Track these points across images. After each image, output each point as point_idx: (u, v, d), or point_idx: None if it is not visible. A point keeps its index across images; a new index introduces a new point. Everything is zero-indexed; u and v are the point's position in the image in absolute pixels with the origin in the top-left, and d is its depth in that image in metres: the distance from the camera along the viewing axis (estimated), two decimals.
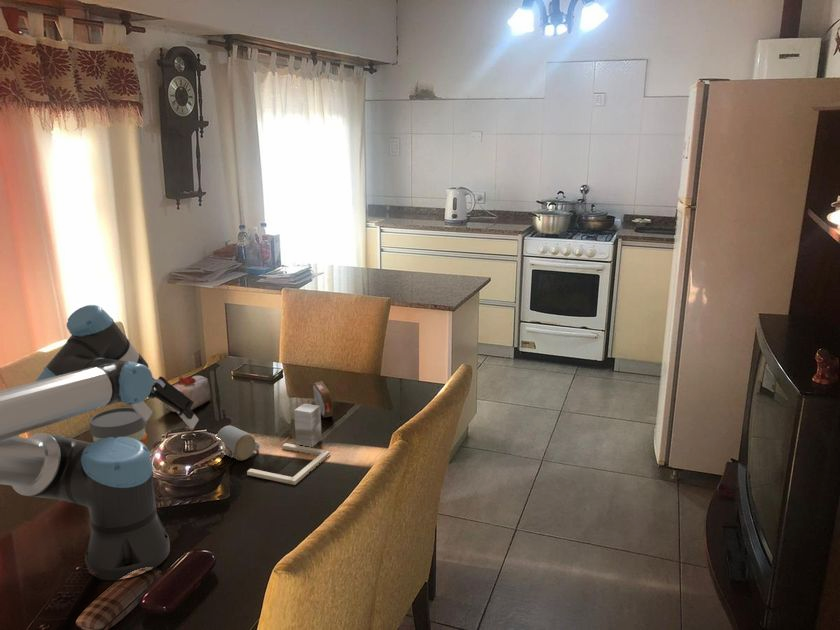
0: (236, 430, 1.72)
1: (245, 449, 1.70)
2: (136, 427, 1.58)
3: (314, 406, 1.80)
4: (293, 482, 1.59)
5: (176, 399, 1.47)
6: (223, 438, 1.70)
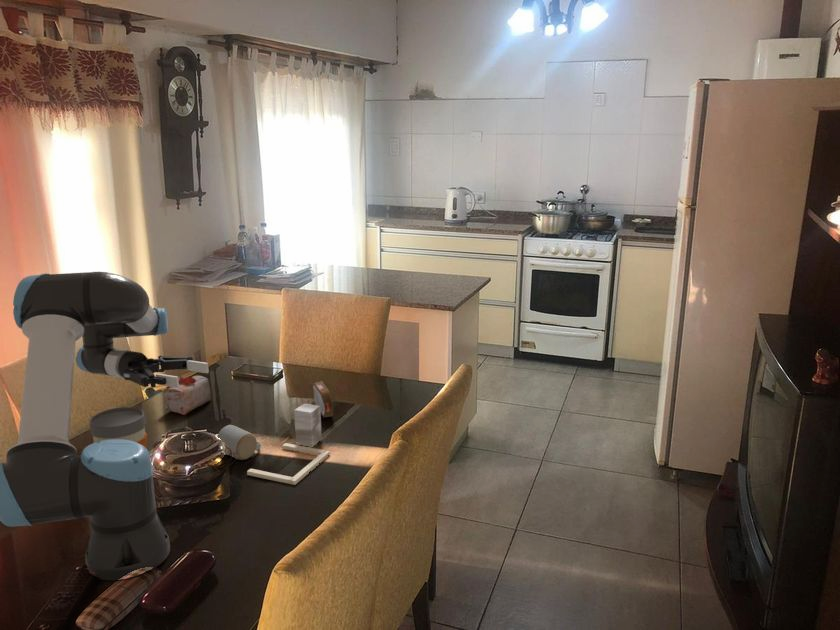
0: (237, 429, 1.72)
1: (247, 448, 1.71)
2: (136, 427, 1.58)
3: (314, 406, 1.80)
4: (293, 482, 1.59)
5: None
6: (224, 437, 1.70)
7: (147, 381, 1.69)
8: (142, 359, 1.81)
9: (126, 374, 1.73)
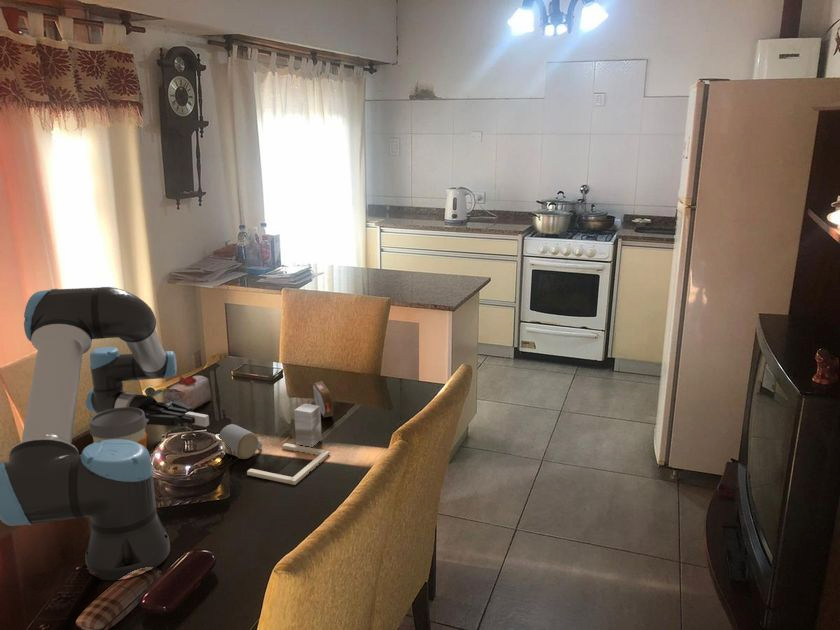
0: (239, 429, 1.72)
1: (248, 448, 1.71)
2: (136, 427, 1.58)
3: (314, 406, 1.80)
4: (293, 482, 1.59)
5: None
6: (226, 437, 1.71)
7: (177, 420, 1.76)
8: (151, 402, 1.84)
9: None
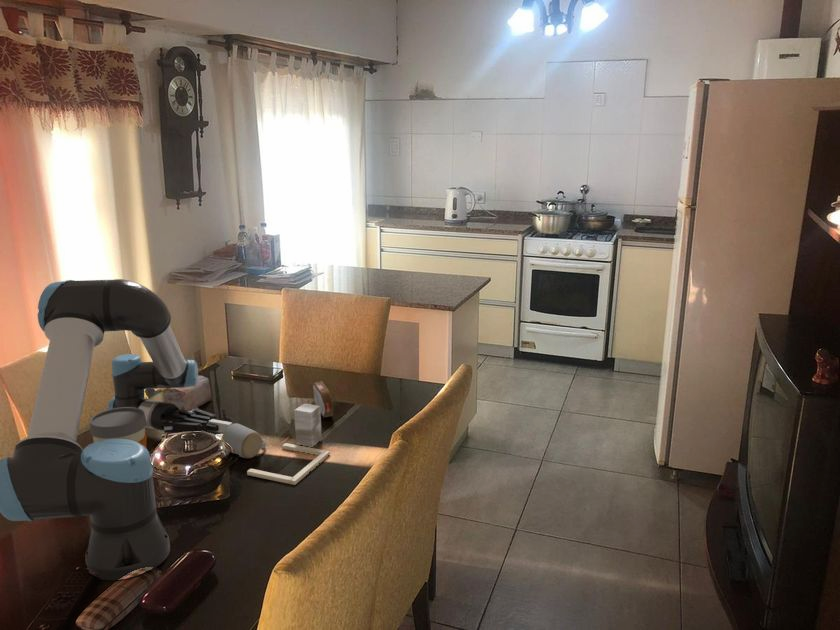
0: (243, 428, 1.73)
1: (252, 447, 1.71)
2: (136, 427, 1.58)
3: (314, 406, 1.80)
4: (293, 482, 1.59)
5: None
6: (230, 436, 1.71)
7: (200, 428, 1.75)
8: (174, 410, 1.83)
9: (168, 427, 1.75)
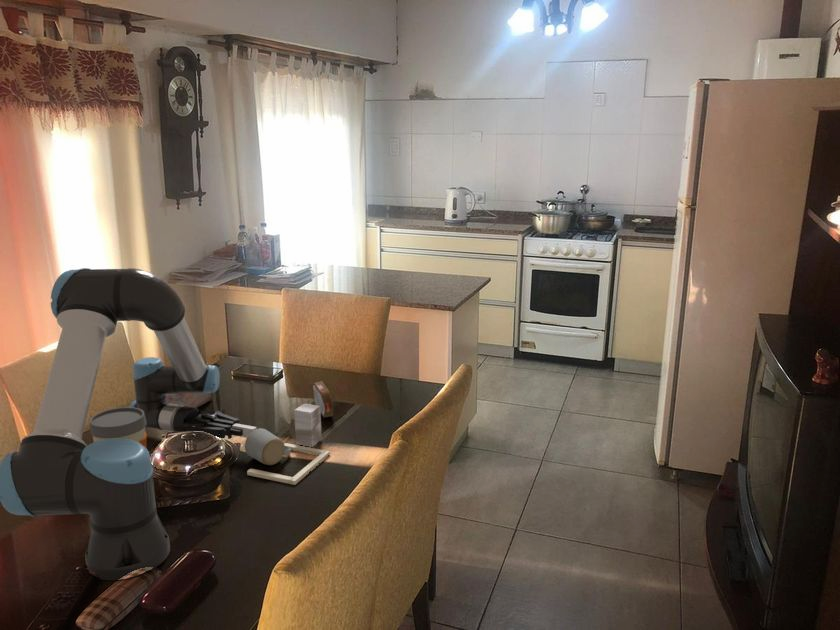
0: (266, 434, 1.69)
1: (273, 454, 1.67)
2: (136, 427, 1.58)
3: (314, 406, 1.80)
4: (293, 482, 1.59)
5: None
6: (252, 441, 1.68)
7: (224, 433, 1.72)
8: (196, 414, 1.80)
9: None
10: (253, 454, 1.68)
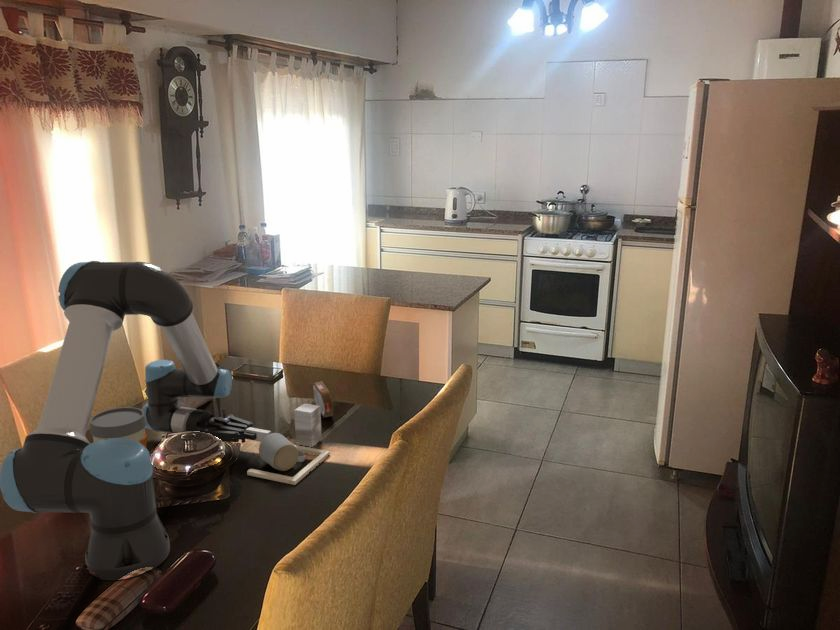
0: (280, 439, 1.66)
1: (286, 460, 1.64)
2: (136, 427, 1.58)
3: (314, 406, 1.80)
4: (293, 482, 1.59)
5: None
6: (266, 446, 1.65)
7: (238, 437, 1.69)
8: (209, 417, 1.77)
9: None
10: (266, 459, 1.65)
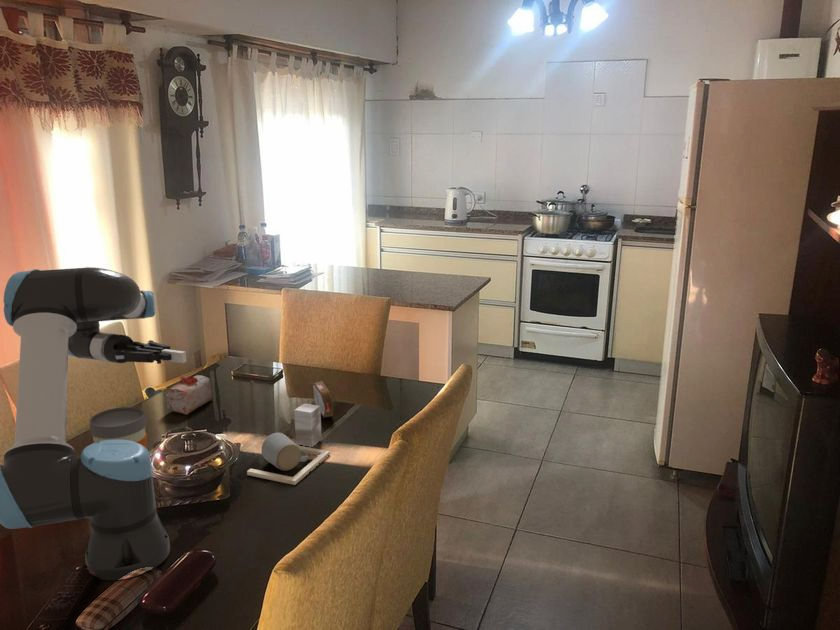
0: (282, 439, 1.67)
1: (289, 460, 1.65)
2: (136, 427, 1.58)
3: (314, 406, 1.80)
4: (293, 482, 1.59)
5: None
6: (268, 445, 1.66)
7: (153, 357, 1.70)
8: (128, 342, 1.79)
9: (120, 356, 1.71)
10: (269, 459, 1.66)
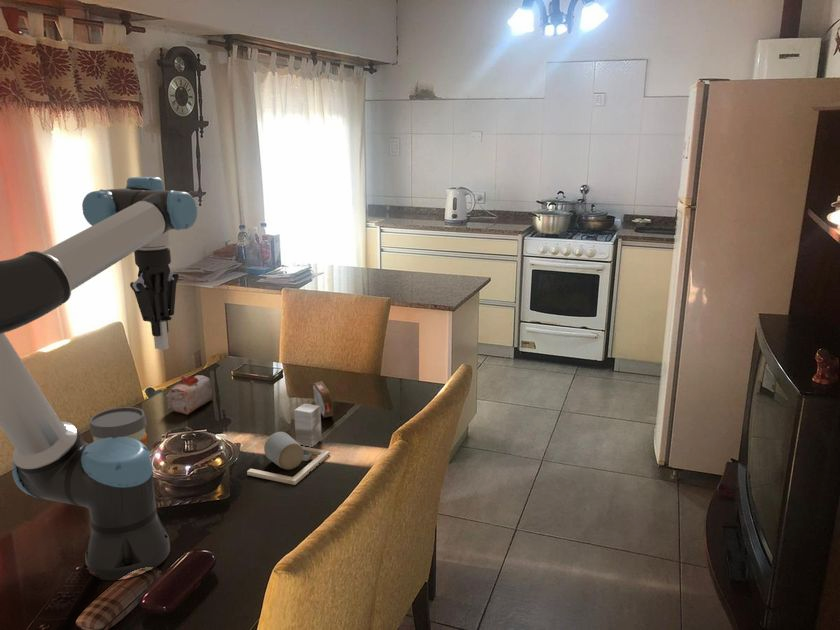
0: (285, 438, 1.67)
1: (291, 459, 1.65)
2: (136, 427, 1.58)
3: (314, 406, 1.80)
4: (293, 482, 1.59)
5: None
6: (271, 444, 1.66)
7: (149, 321, 1.51)
8: None
9: (137, 289, 1.46)
10: (271, 458, 1.66)
